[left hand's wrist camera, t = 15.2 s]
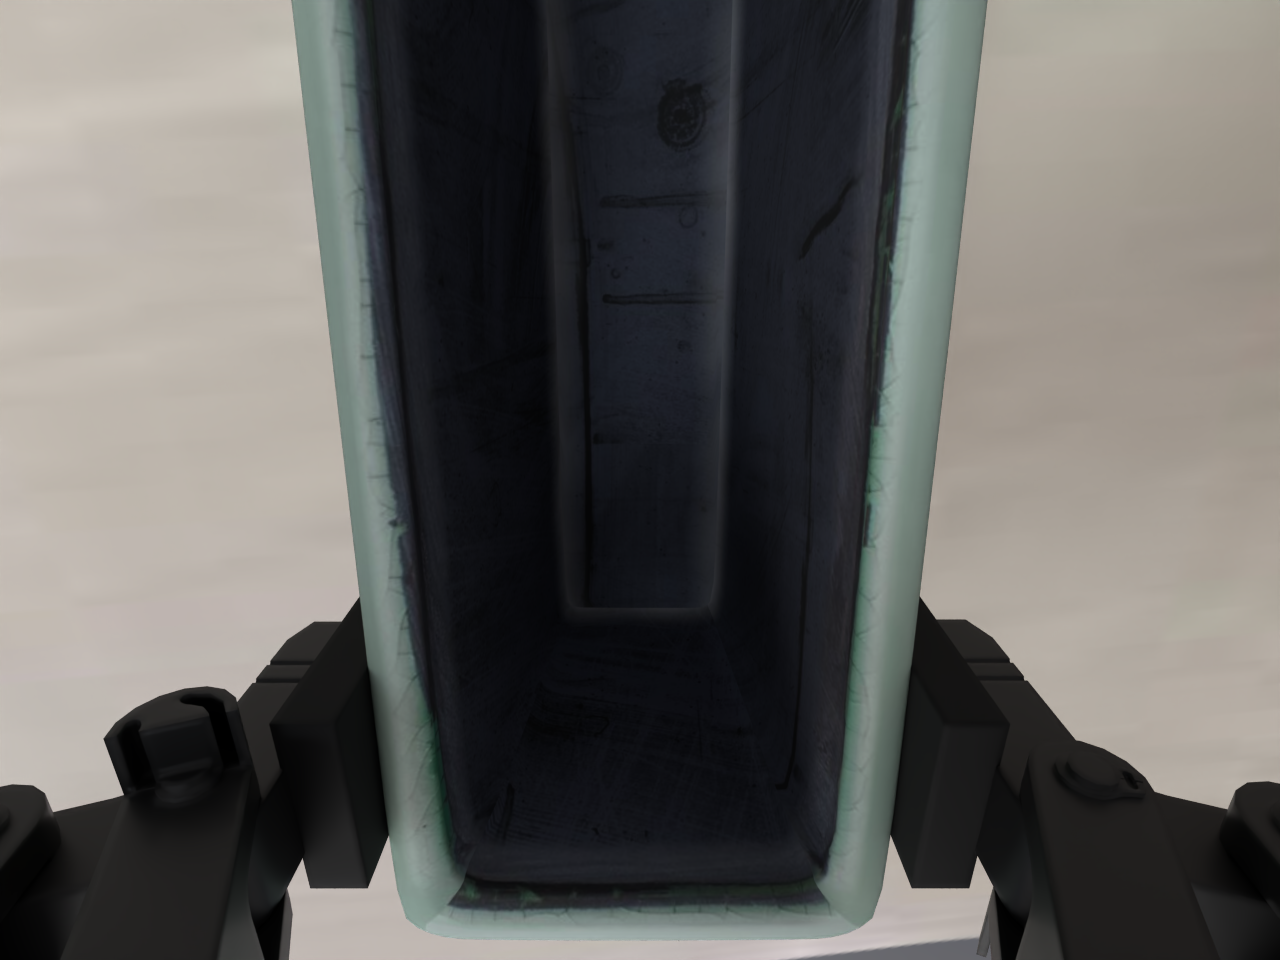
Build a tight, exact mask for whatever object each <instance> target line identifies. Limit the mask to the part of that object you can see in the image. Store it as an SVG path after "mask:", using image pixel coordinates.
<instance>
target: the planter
mask: <svg viewBox="0 0 1280 960" xmlns="http://www.w3.org/2000/svg"><path fill="white" fill-rule="evenodd" d="M986 8H987V0H292V9H293V18H294V27H295V36H296V44H297V53H298V62H299V71H300V80H301V88H302V97H303V106H304V115H305V124H306V132H307V141H308V150H309V159H310V168H311V176H312V185H313V194H314V203H315V211H316V220H317V229H318V238H319V247H320V255H321V264H322V273H323V282H324V291H325V299H326V308H327V317H328V326H329V335H330V343H331V352H332V361H333V369H334V378H335V387H336V395H337V404H338V413H339V421H340V430H341V438H342V447H343V456H344V464H345V473H346V482H347V490H348V499H349V508H350V516H351V525H352V534H353V542H354V551H355V560H356V568H357V577H358V585H359V594H360V603H361V611H362V620H363V629H364V637H365V646H366V655H367V663H368V671H369V679H370V688H371V696H372V704H373V713H374V721H375V729H376V737H377V746H378V754H379V762H380V770H381V779H382V787H383V795H384V804H385V812H386V819H387V826H388V832H389V839H390V845H391V852H392V858H393V865H394V871H395V878H396V884H397V890H398V893H399V896H400V900H401V903H402V906H403V909H404V912H405V916H406V919H408V920H409V921H410V922H411V923H413V924H414V925H415V926H416V927H418V928H419V929H422V930H424V931H426V932H428V933H431V934H434V935H439V936H443V937H448V938H457V939H483V940H783V939H819V938H828V937H835V936H838V935H842V934H846V933H849V932H851V931H853V930H856V929H858V928H860V927H861V926H863V925H864V924H865V923H867V922H868V921H869V920H870V919H872V917H873V914H874V911H875V908H876V905H877V902H878V899H879V896H880V893H881V890H882V886H883V879H884V873H885V867H886V860H887V854H888V847H889V841H890V835H891V828H892V822H893V815H894V807H895V798H896V790H897V782H898V774H899V765H900V757H901V749H902V740H903V732H904V724H905V715H906V707H907V699H908V691H909V682H910V674H911V665H912V657H913V649H914V640H915V631H916V622H917V614H918V605H919V596H920V588H921V579H922V570H923V562H924V553H925V544H926V536H927V527H928V518H929V509H930V501H931V492H932V483H933V475H934V466H935V457H936V449H937V440H938V431H939V423H940V414H941V405H942V396H943V388H944V379H945V370H946V362H947V353H948V344H949V336H950V327H951V318H952V309H953V300H954V291H955V283H956V274H957V265H958V256H959V247H960V238H961V229H962V221H963V212H964V203H965V194H966V185H967V176H968V168H969V159H970V150H971V141H972V132H973V123H974V114H975V106H976V97H977V88H978V79H979V70H980V61H981V53H982V44H983V35H984V26H985V17H986Z"/></svg>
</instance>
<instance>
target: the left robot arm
mask: <svg viewBox="0 0 1280 960" xmlns="http://www.w3.org/2000/svg"><path fill="white" fill-rule="evenodd" d="M270 662H271V663H270V665H267V666H266V667H265V668H264V670H263V671H262V672H261V673H260V674H259V676H258V677H257V678H256V683H252V684H251V686H250V687H249V688H248V689H247V691H246V692H245V693H244V694H243V696H242V697H241V698H240V699H239V701H238V702H237V700H236V697H235V696H233V695H232V694H231V693H229V692H228V691H227V690H225V689H220V688H214V687H208V686H206V687H196V688H186V689H182V690H178V691H175V692H172V693H168V694H165V695H162V696H159V697H157V698H155V699H153V700H151V701H149V702H146V703H144V704H142V705H140V706H138V707H136V708H135V709H133V710H132V711H131V712H129V713H128V714H127V715H125V716H124V717H123V718H121V719H120V720H119V721H117V722H116V723H115V724H114V726H113V727H112V728H111V730H110V731H109V732H108V733H107V735H106V736H105V737H104V742H105V744H106V747H107V750H108V753H109V755H110V758H111V761H112V763H113V766H114V769H115V772H116V774H117V777H118V780H119V782H120V785H121V788H122V791H123V793H124V795H123V796H120V797H116V798H113V799H108V800H104V801H100V802H95V803H91V804H87V805H83V806H78V807H74V808H70V809H65V810H61V811H57V812H53V811H52V809H51V807H50V804H49V802H48V800H47V797H46V795H45V793H44V792H42V791H41V790H39V789H38V788H36V787H34V786H32V785H14V784H12V785H7V786H2V787H0V960H289V950H290V938H291V927H292V915H293V914H292V908H291V902H290V897H289V894H288V890H287V887H288V885H289V883H290V881H291V879H292V878H293V876H294V874H295V872H296V870H297V868H298V866H299V864H300V862H301V860H302V858H303V861H304V865H305V869H306V873H307V877H308V881H309V885H310V888H368V886H369V884H370V881H371V879H372V876H373V874H374V871H375V869H376V866H377V864H378V861H379V858H380V856H381V853H382V851H383V848H384V846H385V843H386V841H387V838H388V836H389V832H388V826H387V819H386V812H385V804H384V795H383V787H382V779H381V770H380V762H379V754H378V746H377V737H376V729H375V721H374V713H373V704H372V696H371V688H370V679H369V671H368V663H367V655H366V646H365V637H364V629H363V620H362V611H361V603H360V597H359V598H358V600H357V601H356V602H355V604H354V605H353V607H352V608H351V609H350V611H349V612H348V614H347V615H346V616H345V618H344V619H343V621H342V622H313V623H312V624H310V625H309V626H307V627H306V628H304V629H303V630H301V631H300V632H298V633H297V634H295V635H294V636H292V637H291V638H289V639H288V640H287V641H286V642H285V643H284V645H283V646H282V647H281V648H280V650H279V651H278V652H277V653H276V655H275V656H274V657H273V658H272V660H271V661H270ZM891 837H892V839H893V842H894V844H895V847H896V849H897V852H898V855H899V857H900V860H901V862H902V865H903V867H904V870H905V872H906V875H907V877H908V880H909V882H910V885H911V887H912V888H969V887H970V883H971V879H972V875H973V871H974V867H975V863H976V859H977V856H978V857H979V859H980V861H981V863H982V865H983V867H984V869H985V871H986V873H987V875H988V877H989V879H990V881H991V883H992V885H993V890H992V894H991V897H990V901H989V905H988V908H987V912H986V916H985V920H984V923H983V927H982V931H981V934H980V938H979V943H978V949H977V955H980V956H983V957H986V956H987V952H988V948H989V945H990V948H991V959H992V960H1280V784H1278V783H1274V782H1269V781H1266V782H1249V783H1246V784H1245V785H1243V786H1242V787H1240V788H1238V789H1237V790H1236V791H1235V793H1234V796H1233V798H1232V800H1231V803H1230V805H1229V808H1228V810H1227V809H1223V808H1219V807H1214V806H1210V805H1206V804H1201V803H1197V802H1193V801H1188V800H1184V799H1180V798H1175V797H1171V796H1167V795H1163V794H1160V793H1157V792H1154V790H1153V789H1152V787H1151V786H1150V784H1149V783H1148V781H1147V780H1146V778H1145V777H1144V776H1143V775H1142V774H1141V773H1139V772H1138V771H1137V770H1136V769H1135V768H1134V767H1132V766H1131V765H1130V764H1129V763H1128V762H1127V761H1125V760H1123V759H1121V758H1119V757H1117V756H1116V755H1114V754H1112V753H1110V752H1108V751H1107V750H1105V749H1103V748H1100V747H1097V746H1094V745H1091V744H1088V743H1085V742H1082V741H1076V740H1075V739H1074V737H1073V736H1072V735H1071V734H1070V732H1069V731H1068V730H1067V729H1066V728H1065V726H1064V725H1063V724H1062V723H1061V721H1060V720H1059V719H1058V718H1057V716H1056V715H1055V714H1054V713H1053V712H1052V710H1051V709H1050V708H1049V707H1048V705H1047V704H1046V703H1045V702H1044V700H1043V699H1042V698H1041V697H1040V695H1039V694H1038V693H1037V692H1036V691H1035V689H1034V688H1033V687H1032V686H1031V684H1030V683H1029V682H1028V681H1024V676H1023V675H1022V673H1021V672H1020V671H1019V670H1018V668H1017V667H1016V666H1015V665H1014V663H1010V659H1009V657H1008V656H1007V655H1006V654H1005V652H1004V651H1003V650H1002V649H1001V647H1000V646H999V645H998V644H997V642H996V641H995V640H994V639H993V638H992V637H991V636H989V635H988V634H986V633H985V632H983V631H982V630H980V629H979V628H977V627H976V626H974V625H973V624H971V623H970V622H968V621H967V620H936V619H935V617H934V616H933V614H932V613H931V612H930V610H929V609H928V607H927V606H926V604H925V603H924V602H923V600H922V599H921V597H920V596H919V605H918V614H917V622H916V631H915V640H914V649H913V657H912V665H911V674H910V682H909V691H908V699H907V707H906V715H905V724H904V732H903V740H902V749H901V757H900V765H899V774H898V782H897V790H896V798H895V807H894V815H893V822H892V828H891Z"/></svg>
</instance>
